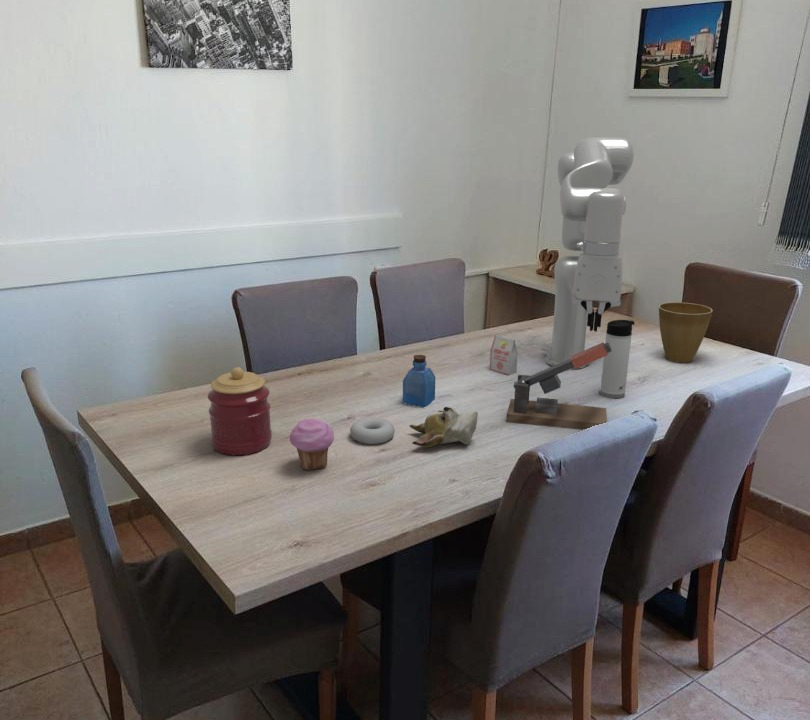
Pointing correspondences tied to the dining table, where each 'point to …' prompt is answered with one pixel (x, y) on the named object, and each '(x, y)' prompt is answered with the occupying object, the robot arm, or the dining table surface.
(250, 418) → the canister
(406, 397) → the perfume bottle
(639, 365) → the dining table surface
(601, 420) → the nutcracker base
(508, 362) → the white paper bag
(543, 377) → the lever
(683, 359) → the plant pot
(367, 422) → the donut
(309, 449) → the cupcake
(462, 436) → the ceramic sculpture
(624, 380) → the travel mug
